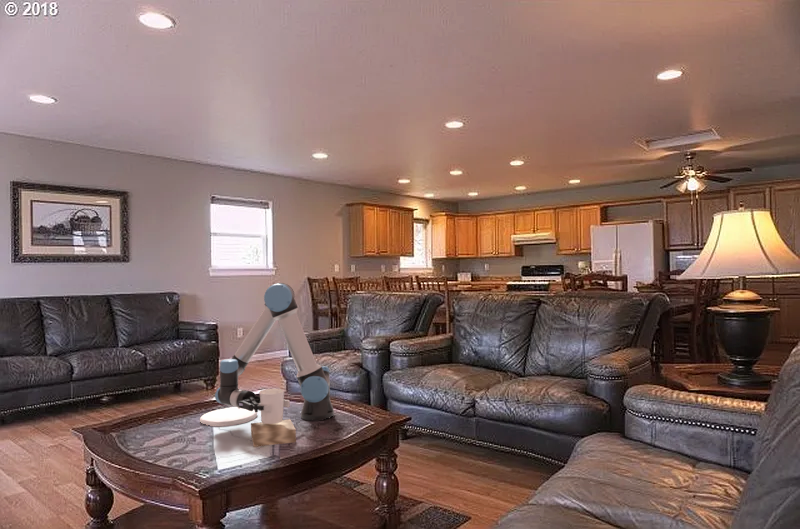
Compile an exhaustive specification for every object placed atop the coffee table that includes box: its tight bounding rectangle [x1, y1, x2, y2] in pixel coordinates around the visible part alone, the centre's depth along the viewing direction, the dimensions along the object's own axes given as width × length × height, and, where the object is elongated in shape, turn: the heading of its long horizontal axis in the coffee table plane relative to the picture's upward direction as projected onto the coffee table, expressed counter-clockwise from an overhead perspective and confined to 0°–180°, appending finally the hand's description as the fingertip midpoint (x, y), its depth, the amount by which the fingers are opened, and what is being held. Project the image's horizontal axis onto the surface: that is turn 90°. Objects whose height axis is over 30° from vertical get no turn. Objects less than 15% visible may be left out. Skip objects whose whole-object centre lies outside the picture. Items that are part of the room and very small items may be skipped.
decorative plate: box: [199, 406, 258, 427], centre depth 253 cm, size 25×4×25 cm
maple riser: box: [250, 418, 297, 448], centre depth 220 cm, size 16×16×5 cm
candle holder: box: [259, 388, 285, 424], centre depth 220 cm, size 10×10×12 cm
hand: (279, 406), depth 218 cm, fingers closed on candle holder, 9 cm apart
